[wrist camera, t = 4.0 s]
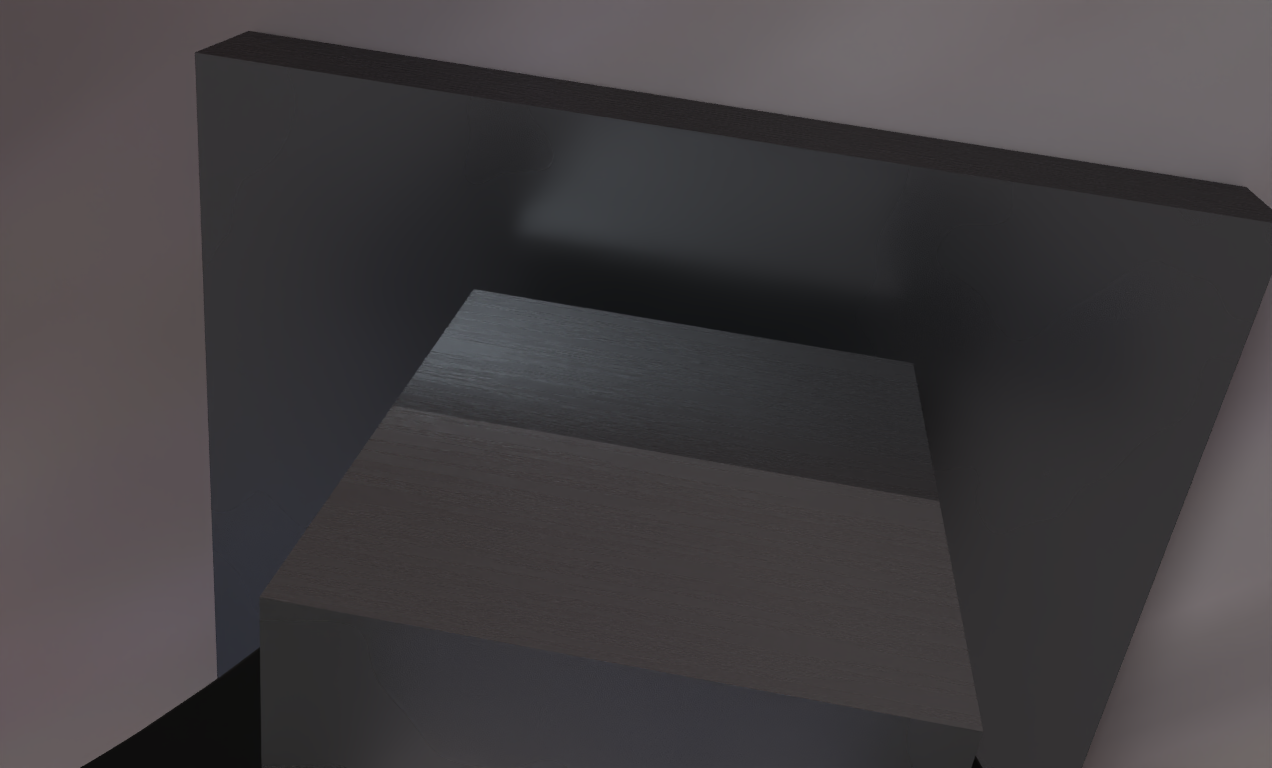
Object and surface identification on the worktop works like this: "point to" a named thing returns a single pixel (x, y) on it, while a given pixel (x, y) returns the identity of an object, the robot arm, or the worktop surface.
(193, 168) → the worktop surface
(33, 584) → the worktop surface
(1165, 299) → the stand
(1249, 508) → the worktop surface
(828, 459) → the block
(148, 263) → the worktop surface
